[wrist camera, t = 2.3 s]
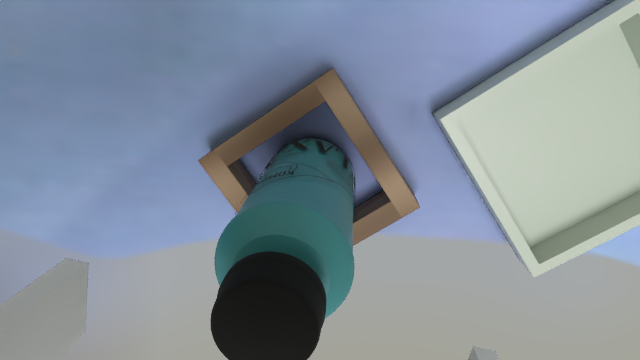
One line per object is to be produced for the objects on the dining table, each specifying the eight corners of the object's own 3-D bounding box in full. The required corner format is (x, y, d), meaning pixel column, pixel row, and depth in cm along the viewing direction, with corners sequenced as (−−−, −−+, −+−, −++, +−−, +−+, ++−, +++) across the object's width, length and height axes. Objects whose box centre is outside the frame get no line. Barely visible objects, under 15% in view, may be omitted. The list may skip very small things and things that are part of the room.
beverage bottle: (372, 169, 33) (404, 330, 14) (315, 227, 35) (276, 440, 16) (308, 113, 32) (251, 203, 13) (253, 175, 34) (132, 335, 15)
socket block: (210, 151, 34) (198, 160, 31) (333, 67, 31) (332, 69, 28) (293, 263, 36) (289, 282, 33) (414, 194, 34) (420, 207, 31)
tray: (431, 113, 32) (440, 119, 29) (616, -2, 29) (646, -7, 26) (518, 259, 35) (533, 277, 32) (694, 168, 32) (728, 180, 29)
